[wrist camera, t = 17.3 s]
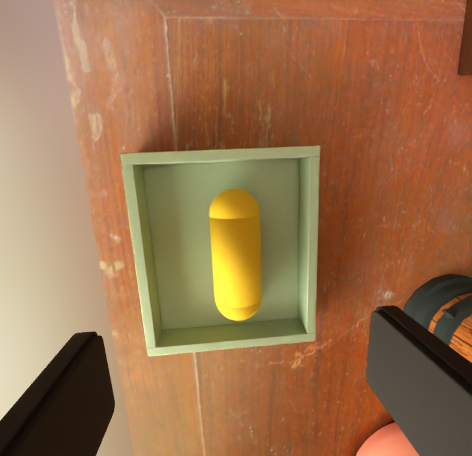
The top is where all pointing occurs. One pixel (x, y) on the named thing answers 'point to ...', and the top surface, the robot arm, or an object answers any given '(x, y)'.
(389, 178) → the top surface
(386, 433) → the teapot
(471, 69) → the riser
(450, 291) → the mug
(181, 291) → the tray
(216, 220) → the yellow capsule toy
